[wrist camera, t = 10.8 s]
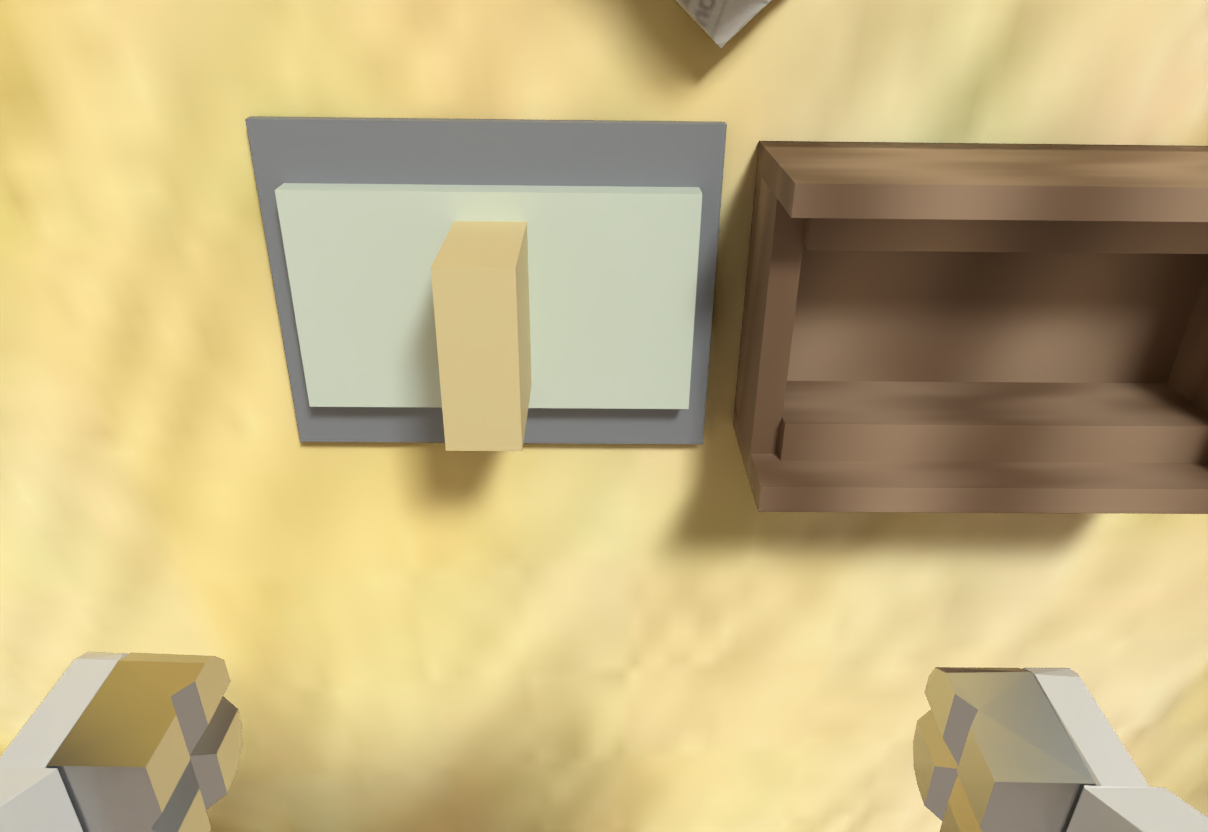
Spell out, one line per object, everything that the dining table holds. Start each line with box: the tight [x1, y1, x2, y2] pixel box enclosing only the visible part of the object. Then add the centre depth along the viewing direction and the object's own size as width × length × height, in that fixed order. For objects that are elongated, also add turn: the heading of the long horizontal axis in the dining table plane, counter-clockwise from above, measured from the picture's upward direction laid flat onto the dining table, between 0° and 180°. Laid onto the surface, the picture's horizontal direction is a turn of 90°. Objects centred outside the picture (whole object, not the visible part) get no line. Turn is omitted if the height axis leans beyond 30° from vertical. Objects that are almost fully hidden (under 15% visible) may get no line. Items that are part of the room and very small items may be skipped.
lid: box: [275, 183, 702, 451], centre depth 24 cm, size 12×7×5 cm, turn 89°
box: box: [733, 141, 1208, 514], centre depth 25 cm, size 14×9×5 cm, turn 89°
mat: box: [245, 117, 727, 444], centre depth 26 cm, size 13×10×1 cm
